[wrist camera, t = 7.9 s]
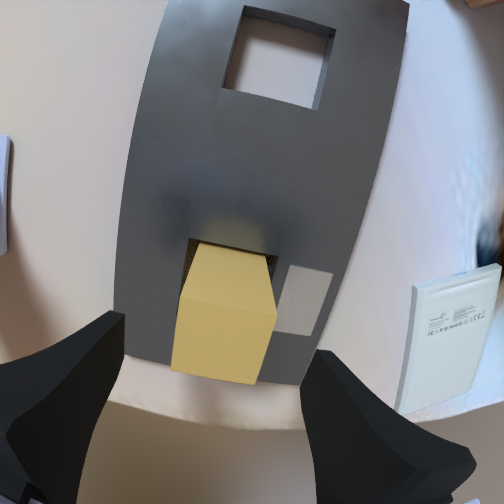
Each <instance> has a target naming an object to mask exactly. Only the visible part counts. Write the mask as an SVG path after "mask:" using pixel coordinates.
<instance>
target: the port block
mask: <svg viewBox="0 0 504 504" xmlns="http://www.w3.org/2000/svg"><path fill="white" fill-rule="evenodd" d="M409 6H410V4H409V3H407V2H405V1H403V0H169V2H168V4H167V7H166V10H165V13H164V16H163V19H162V22H161V25H160V28H159V31H158V34H157V37H156V40H155V44H154V47H153V50H152V54H151V57H150V61H149V64H148V68H147V72H146V76H145V80H144V83H143V87H142V92H141V96H140V100H139V104H138V109H137V113H136V118H135V123H134V127H133V132H132V138H131V143H130V148H129V154H128V160H127V166H126V172H125V179H124V186H123V193H122V201H121V209H120V217H119V227H118V237H117V249H116V263H115V280H114V307H113V311H115V312H119V313H123V314H125V338H124V354H126V355H130V356H134V357H138V358H142V359H146V360H150V361H154V362H159V363H163V364H167V365H171V361H172V353H173V345H174V337H175V329H176V322H177V314H178V307H179V301H180V296H181V293H182V289H183V282H184V276H185V270H186V264H187V258H188V252H189V246H190V241H191V238H193V239H198V240H202V241H207V242H212V243H217V244H222V245H226V246H231V247H236V248H241V249H246V250H250V251H255V252H260V253H265V254H270V255H273V259H272V263H271V266H270V270H269V277H270V281H271V286H272V291H273V296H274V301H275V305H276V310H277V315H278V316H277V319H276V322H275V325H274V329H273V332H272V335H271V338H270V341H269V344H268V347H267V350H266V353H265V356H264V359H263V362H262V365H261V368H260V371H259V374H258V377H257V381H265V382H273V383H281V384H291V385H300V383H301V381H302V379H303V376H304V374H305V372H306V369H307V367H308V365H309V363H310V360H311V358H312V356H313V353H314V351H315V348H316V346H317V344H318V341H319V339H320V336H321V334H322V331H323V329H324V326H325V324H326V321H327V319H328V316H329V314H330V311H331V308H332V306H333V303H334V301H335V298H336V295H337V292H338V290H339V287H340V284H341V282H342V279H343V276H344V273H345V270H346V267H347V265H348V262H349V259H350V256H351V253H352V250H353V247H354V244H355V241H356V238H357V235H358V232H359V229H360V225H361V222H362V219H363V216H364V213H365V209H366V206H367V203H368V199H369V196H370V192H371V189H372V185H373V182H374V178H375V175H376V171H377V167H378V164H379V160H380V156H381V152H382V148H383V144H384V140H385V136H386V132H387V128H388V124H389V119H390V115H391V110H392V106H393V101H394V96H395V91H396V87H397V81H398V76H399V71H400V66H401V60H402V54H403V48H404V42H405V35H406V28H407V21H408V14H409ZM243 16H248V17H253V18H258V19H262V20H267V21H271V22H275V23H280V24H284V25H288V26H291V27H295V28H299V29H302V30H306V31H309V32H312V33H316V34H319V35H322V36H325V37H328V43H327V47H326V51H325V55H324V60H323V64H322V68H321V72H320V76H319V81H318V85H317V89H316V93H315V97H314V101H313V105H312V109H308V108H305V107H301V106H298V105H294V104H291V103H287V102H283V101H279V100H275V99H271V98H267V97H263V96H259V95H254V94H250V93H245V92H240V91H236V90H231V89H226V88H224V84H225V80H226V76H227V73H228V69H229V65H230V61H231V58H232V54H233V51H234V47H235V43H236V40H237V36H238V33H239V30H240V26H241V23H242V19H243Z"/></svg>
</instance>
